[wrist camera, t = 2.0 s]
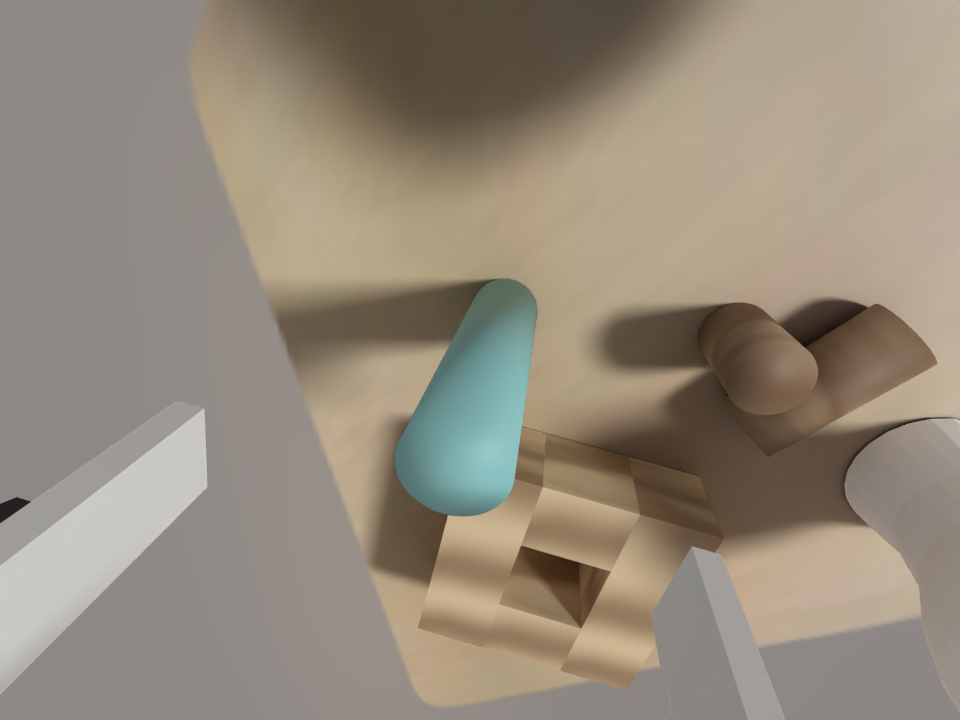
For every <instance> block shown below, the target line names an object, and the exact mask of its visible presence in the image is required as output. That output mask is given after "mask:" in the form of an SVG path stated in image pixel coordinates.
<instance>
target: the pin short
mask: <svg viewBox="0 0 960 720" xmlns="http://www.w3.org/2000/svg"><path fill="white" fill-rule="evenodd" d="M698 345H699V348H700V350H701V352H702V354H703V355H704V357H705V359H706V360H707V362H708V363H709V365H710V367H711V368H712V370H713V371H714V373H715V375H716V376H717V378H718V379H719V381H720V383H721V384H722V386H723V387H724V389H725V391H726V392H727V394H728V395H729V397H730V399H731V400H732V401H733V403H734V404H735V405H737V406H738V407H739V408H741V409H742V410H744V411H746V412H749V413H753V414H758V415H772V414H778V413H782V412H785V411H787V410H790V409H792V408H794V407H795V406H797V405H798V404H800V403H801V402H802V401H804V400H805V399H806V398H807V397H808V396H809V394H810V393H811V392H812V390H813V388H814V387H815V384H816V382H817V377H818V367H817V363H816V361H815V359H814V357H813V356H812V354H811V353H810V352H809V351H808V350H807V349H806V348H805V347H803V346H802V345H801V344H800V343H799V342H798V341H797V340H796V339H794V338H793V337H792V336H791V335H790V334H789V333H788V332H787V331H786V330H784V329H783V328H782V327H781V326H780V325H779V324H778V323H777V322H776V321H774V320H773V319H772V318H771V317H770V316H769V315H768V314H767V313H766V312H764V311H763V310H762V309H761V308H759V307H757V306H755V305H752V304H748V303H732V304H728V305H725V306H722V307H720V308H718V309H717V310H715V311H714V312H712V313H711V314H710V315H709V316H708V317H707V318H706V319H705V320H704V322H703V323H702V325H701V327H700V330H699V333H698Z"/></svg>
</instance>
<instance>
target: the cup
mask: <svg viewBox="0 0 960 720" xmlns="http://www.w3.org/2000/svg"><path fill="white" fill-rule="evenodd" d="M844 487H845V494H846V499H847V500H848V502H849V504H850V506H851V507H852V509H853V510H854V511H855V512H856V513H857V514H858V515H859V516H860V517H861V518H862V519H863V520H864V521H865V522H866V523H867V524H868V525H869V526H870V527H871V528H872V529H873V530H874V531H875V532H877V533H878V534H879V535H880V536H881V537H882V538H883V539H884V540H886V541H887V542H888V543H889V544H890V545H891V546H892V547H893V548H895V549H896V550H897V551H898V552H899V553H900V554H901V556H902V558H903V559H904V561H905V563H906V564H907V566H908V568H909V570H910V571H911V573H912V575H913V577H914V578H915V580H916V582H917V583H918V585H919V591H920V602H921V612H922V622H923V632H924V635H925V638H926V640H927V643H928V646H929V649H930V652H931V655H932V657H933V660H934V663H935V666H936V669H937V672H938V675H939V678H940V680H941V683H942V685H943V687H944V688H945V690H946V692H947V693H948V695H949V696H950V698H951V700H952V701H953V703H954V705H955V706H956V707H957V709H958V710H959V712H960V420H958V419H953V418H950V419H928V420H923V421H918V422H913V423H909V424H906V425H903V426H901V427H898V428H896V429H893V430H891V431H888V432H886V433H885V434H883V435H882V436H880V437H878V438H877V439H875V440H874V441H872V442H871V443H869V444H868V445H867V446H866V447H865V448H864V449H863V450H862V451H861V452H860V453H859V454H858V455H857V456H856V457H855V459H854V460H853V462H852V464H851V465H850V467H849V469H848V471H847V474H846V479H845V483H844Z"/></svg>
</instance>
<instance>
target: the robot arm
mask: <svg viewBox="0 0 960 720" xmlns="http://www.w3.org/2000/svg"><path fill="white" fill-rule="evenodd" d="M206 488H207V467H206V438H205V410H204V408H202V407H199V406H195V405H191V404H188V403H184V402H181V401H178V400H177V401H175V402H174V403H173V404H171V405H170V406H168V407H167V408H165V409H164V410H163V411H161V412H160V413H158V414H157V415H155V416H154V417H152V418H151V419H150V420H148V421H147V422H145V423H144V424H142V425H141V426H140V427H138V428H137V429H135V430H134V431H132V432H131V433H130V434H128V435H127V436H125V437H124V438H123V439H121V440H119V441H118V442H117V443H115V444H114V445H112V446H111V447H109V448H108V449H106V450H105V451H104V452H102V453H101V454H99V455H98V456H97V457H95V458H94V459H92V460H91V461H89V462H88V463H86V464H85V465H84V466H82V467H81V468H79V469H78V470H76V471H75V472H74V473H72V474H71V475H69V476H68V477H66V478H65V479H63V480H62V481H61V482H59V483H58V484H56V485H55V486H53V487H52V488H50V489H49V490H48V491H46V492H45V493H43V494H42V495H41V496H39V497H38V498H36V499H35V500H33V501H32V502H31V501H27V500H24V499H20V498H17V497H16V498H14V499H11V500H9V501H7V502H4V503H1V504H0V694H1V693H2V692H3V691H4V690H5V689H6V688H7V687H8V686H9V685H10V684H11V683H12V682H13V681H14V680H15V679H16V678H17V677H18V676H19V675H20V674H21V673H22V672H23V671H24V670H25V669H26V668H27V667H28V666H29V665H30V664H31V663H32V662H33V661H34V660H35V659H36V658H37V657H38V656H39V655H40V654H41V653H42V652H43V651H44V650H45V649H46V648H47V647H48V646H49V645H50V644H51V643H52V642H53V641H54V640H55V639H56V638H57V637H58V636H59V635H60V634H61V633H62V632H63V631H64V630H65V629H66V628H67V627H68V626H69V625H70V624H71V623H72V622H73V621H74V620H75V619H76V618H77V617H78V616H79V615H80V614H81V613H82V612H83V611H84V610H85V609H86V608H87V607H88V606H89V605H90V604H91V603H92V602H93V601H94V600H95V599H96V598H97V597H98V596H99V595H100V594H101V593H102V592H103V591H104V590H105V589H106V588H107V587H108V586H109V585H110V584H111V583H112V582H113V581H114V580H115V579H116V578H117V577H118V576H119V575H120V574H121V573H122V572H123V571H124V570H125V569H126V568H127V567H128V566H129V565H130V564H131V563H132V562H133V561H134V560H135V559H136V558H137V557H138V556H139V555H140V554H141V553H142V552H143V551H144V550H145V549H146V548H147V547H148V546H149V545H150V544H151V543H152V542H153V541H154V540H155V539H156V538H157V537H158V536H159V535H160V534H161V533H162V532H163V531H164V530H165V529H166V528H167V527H168V526H169V525H170V524H171V523H172V522H173V521H174V520H175V519H176V518H177V517H178V516H179V515H180V514H181V513H182V512H183V511H184V510H185V509H186V507H188V506H189V505H190V504H191V503H192V502H193V500H195V499H196V498H197V497H198V496H199V495H200V494H201V493H202V492H203V490H205V489H206ZM651 618H652V624H653V629H654V634H655V639H656V645H657V650H658V655H659V660H660V665H661V671H662V676H663V681H664V686H665V692H666V697H667V702H668V707H669V712H670V718H671V720H785V717H784V715H783V712H782V710H781V707H780V704H779V702H778V699H777V697H776V694H775V691H774V689H773V686H772V684H771V681H770V679H769V676H768V673H767V671H766V668H765V666H764V663H763V661H762V658H761V655H760V653H759V650H758V648H757V645H756V642H755V640H754V637H753V635H752V632H751V629H750V627H749V624H748V622H747V619H746V617H745V614H744V611H743V609H742V606H741V604H740V601H739V598H738V596H737V593H736V591H735V588H734V586H733V583H732V580H731V578H730V575H729V573H728V570H727V568H726V565H725V562H724V560H723V557H722V555H721V554H717V553H714V552H710V551H707V550H703V549H700V548H696V547H693V546H692V547H691V549H690V550H689V552H688V554H687V556H686V557H685V559H684V561H683V562H682V564H681V566H680V567H679V569H678V571H677V572H676V574H675V576H674V577H673V579H672V581H671V582H670V584H669V586H668V587H667V589H666V591H665V592H664V594H663V596H662V597H661V599H660V601H659V602H658V604H657V606H656V607H655V609H654V611H653V613H652V614H651Z"/></svg>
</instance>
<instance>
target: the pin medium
mask: <svg viewBox="0 0 960 720" xmlns="http://www.w3.org/2000/svg"><path fill="white" fill-rule="evenodd" d="M805 348H806V349H807V350H808V351H809V352H810V353H811V354H812V356H813V357H814V359H815V361H816V363H817V367H818V377H817V382H816V384H815V387H814V388H813V390H812V392H811V393H810V394H809V396H808V397H807V398H806V399H805V400H804V401H802V402H801V403H800V404H798V405H797V406H795V407H794V408H792V409H790V410H787V411H785V412H782V413H778V414H772V415H758V414H753V413H749V412H746V411H744V410H742V409H741V408H739V407H738V406H737V405H735V404H734V403H733V401H732V400H731V399H730V397H729V395H728V396H727V397H725V398H723V400H724V402H725V404H726V405H727V407H728V408H729V410H730V411H731V413H732V414H733V416H734V417H735V418H736V420H737V421H738V422H739V424H740V425H741V426H742V428H743V429H744V430H745V431H746V433H747V434H748V435H749V436H750V438H751V439H752V440H753V441H754V442H755V443H756V445H757V446H758V447H759V448H760V449H761V450H762V451H763V452H764V453H765V454H766V455H767V456H771V455H773V454H774V453H776V452H778V451H780V450H782V449H783V448H785V447H787V446H789V445H791V444H793V443H794V442H796V441H798V440H800V439H802V438H804V437H805V436H807V435H809V434H811V433H813V432H814V431H816V430H818V429H820V428H822V427H824V426H825V425H827V424H829V423H831V422H833V421H835V420H836V419H838V418H840V417H842V416H844V415H845V414H847V413H849V412H851V411H853V410H855V409H856V408H858V407H860V406H862V405H864V404H866V403H867V402H869V401H871V400H873V399H875V398H877V397H878V396H880V395H882V394H884V393H886V392H887V391H889V390H891V389H893V388H895V387H897V386H898V385H900V384H902V383H904V382H906V381H908V380H909V379H911V378H913V377H915V376H917V375H918V374H920V373H922V372H924V371H926V370H928V369H929V368H931V367H933V366H935V365H937V360H936V358H935V356H934V354H933V353H932V351H931V350H930V349H929V347H928V346H927V345H926V344H925V342H924V341H923V340H922V339H921V338H920V337H919V336H918V335H917V334H916V333H915V332H914V331H913V330H912V329H911V328H910V327H909V326H908V325H907V324H906V323H905V322H904V321H903V320H901V319H900V318H899V317H898V316H896V315H895V314H894V313H893V312H891V311H890V310H888V309H887V308H885V307H883V306H881V305H879V304H874V305H872V306H871V307H869V308H867V309H866V310H864V311H863V312H861V313H859V314H858V315H856V316H855V317H853V318H851V319H850V320H848V321H847V322H845V323H843V324H842V325H840V326H839V327H837V328H835V329H834V330H832V331H831V332H829V333H827V334H826V335H824V336H823V337H821V338H819V339H818V340H816V341H815V342H813V343H811V344H810V345H808V346H807V347H805Z"/></svg>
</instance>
